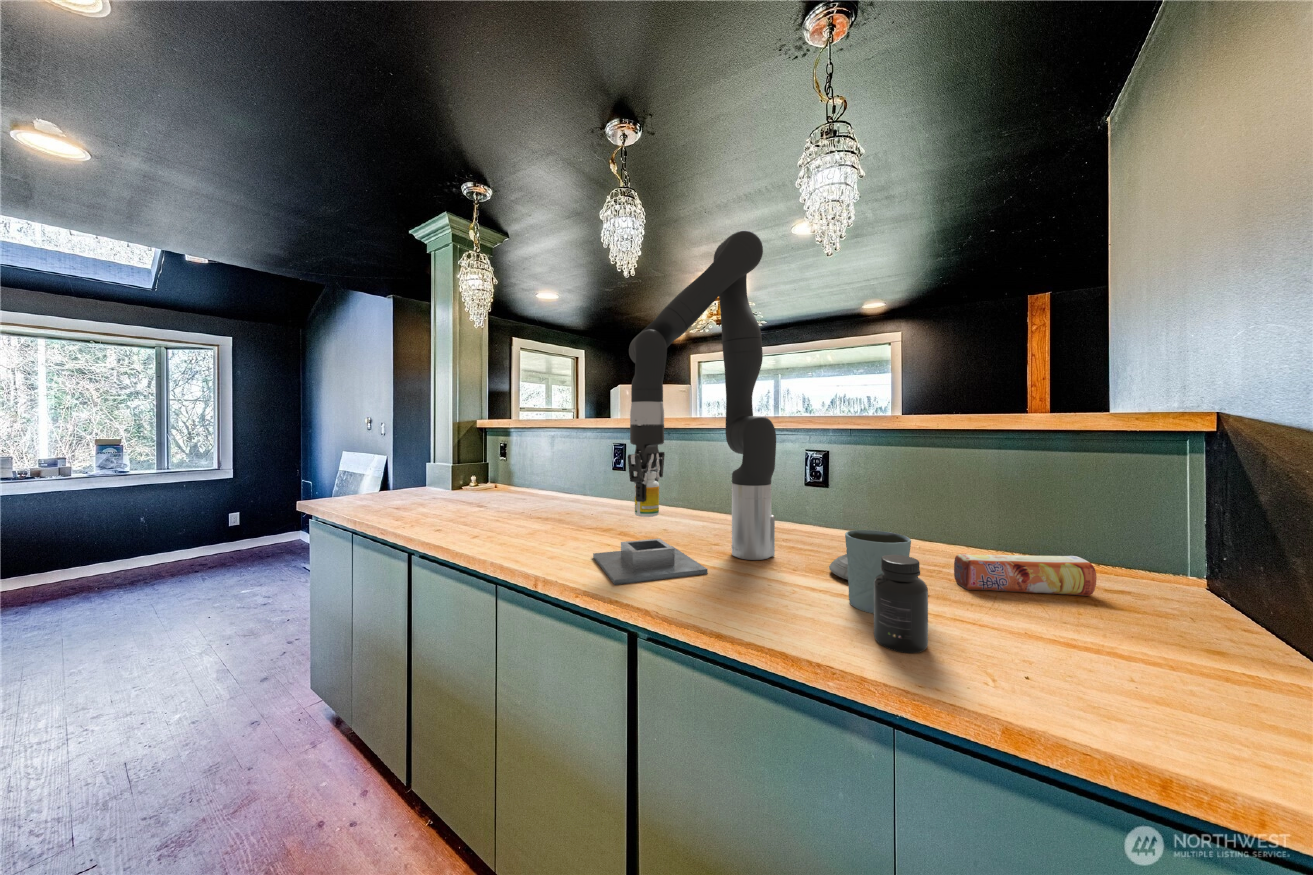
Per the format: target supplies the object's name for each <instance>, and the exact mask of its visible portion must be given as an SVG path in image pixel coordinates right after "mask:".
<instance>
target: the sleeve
mask: <svg viewBox="0 0 1313 875" xmlns="http://www.w3.org/2000/svg"><path fill="white" fill-rule="evenodd" d="M592 559H593V560H595V562H596V563H597V564H598V566H599V567H600V568H601V570H602V571H603V572H604V574H606V576H607V577H608V578H609V580H610V581H611V582H612V584H613V585H614V586H619V585H626V584H634V583H644V582H652V581H659V580H668V579H674V578H675V579H676V578H684V577H692V576H700V575H707V574H708V572H709V571H708V568H707V567H705V566H704V565H702V564H700V563H699V562H697V561H696V560H695V559H693V558H691V557H690V556H689V555H687V554H686V553H684V552H682V551H681V550H679V549H678V548H676V547H675V546H673V545H670V544H668V543H667V542H666V541H664V540H663V539H661V538H651V539H640V540H638V539H637V540H629V541H628V540H627V541H620V550H615V551H605V552H594V553H592Z"/></svg>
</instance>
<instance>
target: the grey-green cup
mask: <svg viewBox="0 0 1313 875" xmlns="http://www.w3.org/2000/svg"><path fill="white" fill-rule="evenodd" d="M844 538H845V548H846V554H847V560H848V568H847V571H848V579H849V580H847V582H848V601H849V604H850V605H851V606H852V607H854V608H855V609H857V610H860V611H862V612H866V613H869V614H873V615H874V580H875V578H876V577H877V576H878V575H879V574H881V573H883V572H882V571H881V558H882V557H883V556H885V555H903V556H908V557H910V553H911V546H912V545H911V544H912V540H911V538H910V537H908V536H907V535H903V534H900V533H895V532H890V531H885V530H884V531H883V530H876V529H874V530H873V529H872V530H871V529H853V530H847V531H846V532H845V534H844Z"/></svg>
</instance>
